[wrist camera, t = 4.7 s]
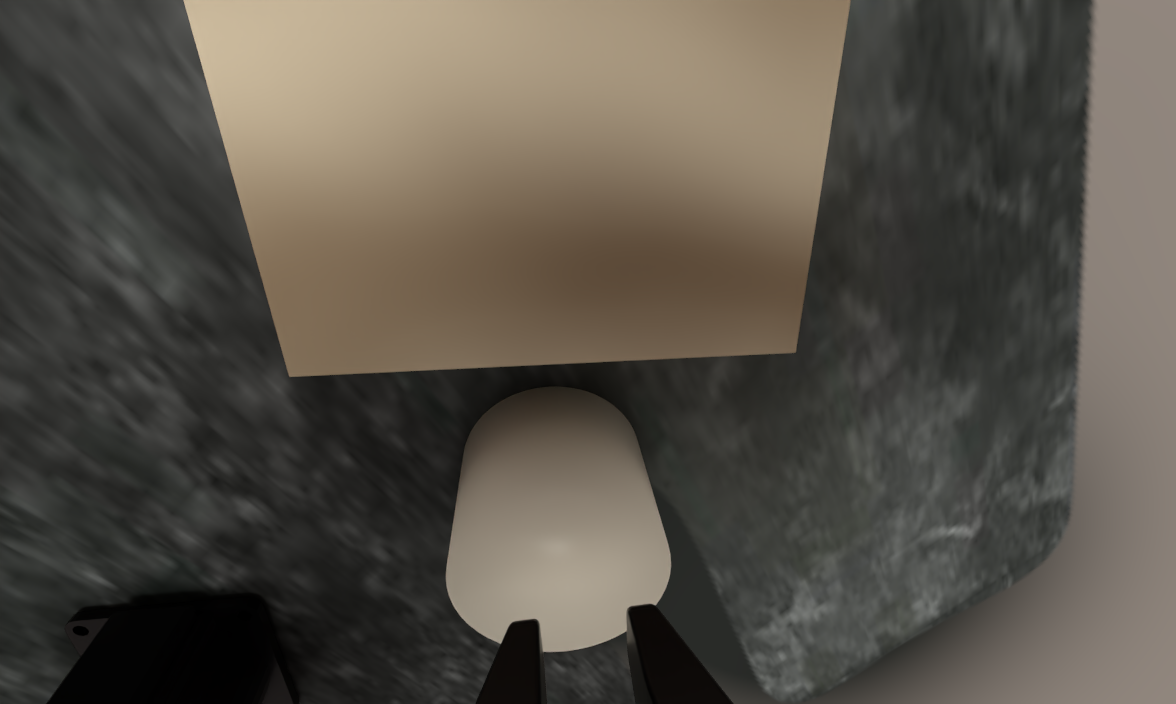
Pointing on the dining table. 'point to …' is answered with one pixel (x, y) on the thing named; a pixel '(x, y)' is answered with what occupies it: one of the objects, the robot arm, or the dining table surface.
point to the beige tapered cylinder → (555, 521)
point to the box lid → (525, 174)
